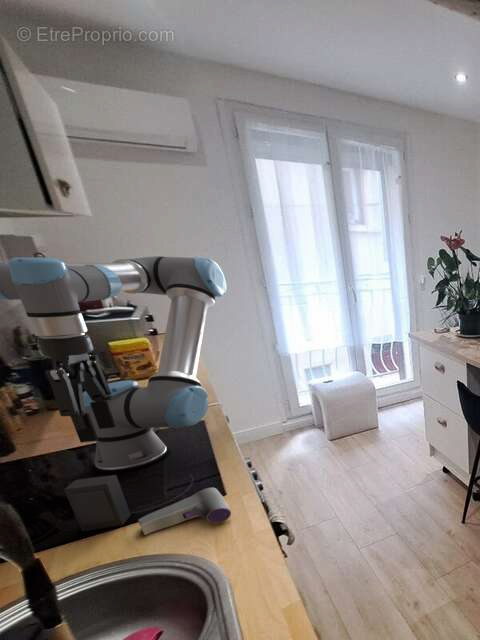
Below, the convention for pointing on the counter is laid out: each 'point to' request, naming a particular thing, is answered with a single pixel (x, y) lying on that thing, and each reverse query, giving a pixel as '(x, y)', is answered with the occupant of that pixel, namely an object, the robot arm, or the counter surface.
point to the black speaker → (98, 502)
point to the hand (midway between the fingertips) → (98, 433)
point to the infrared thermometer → (188, 511)
